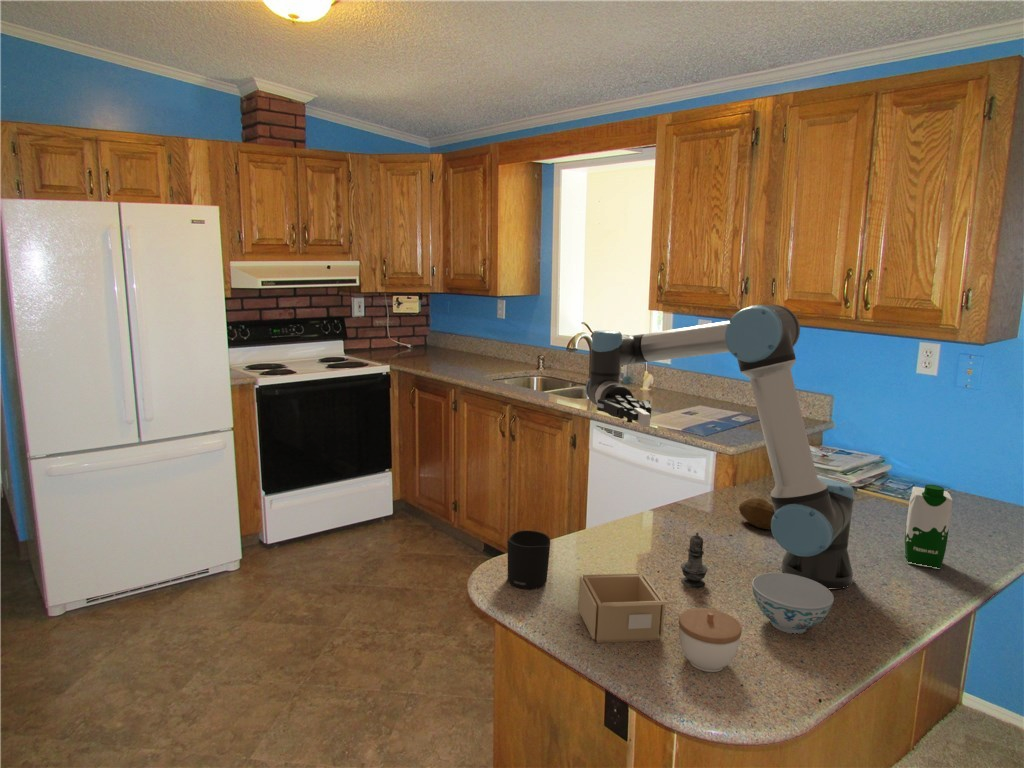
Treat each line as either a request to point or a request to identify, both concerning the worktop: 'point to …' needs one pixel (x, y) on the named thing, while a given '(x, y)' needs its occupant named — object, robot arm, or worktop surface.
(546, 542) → the pen holder
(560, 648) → the worktop surface
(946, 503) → the milk carton
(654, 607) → the carton
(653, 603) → the flap
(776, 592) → the chinaware
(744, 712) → the worktop surface
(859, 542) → the worktop surface
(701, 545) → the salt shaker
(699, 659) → the lidded jar
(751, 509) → the potato
